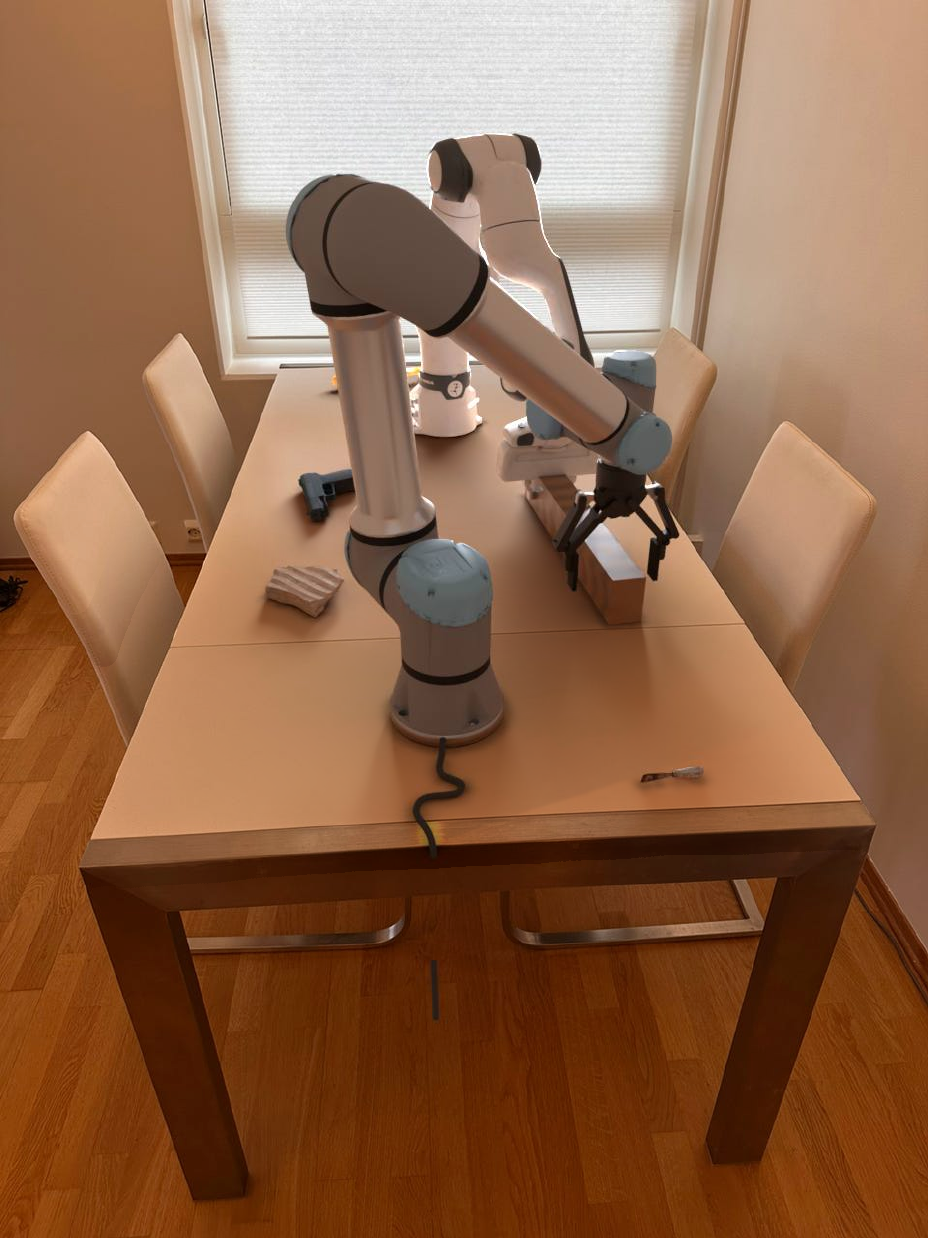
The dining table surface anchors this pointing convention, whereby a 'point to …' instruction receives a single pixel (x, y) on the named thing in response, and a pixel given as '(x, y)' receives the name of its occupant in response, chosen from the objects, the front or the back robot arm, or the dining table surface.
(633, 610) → the beam
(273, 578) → the stone
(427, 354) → the back robot arm
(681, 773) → the putty knife
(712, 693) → the dining table surface
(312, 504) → the handgun
